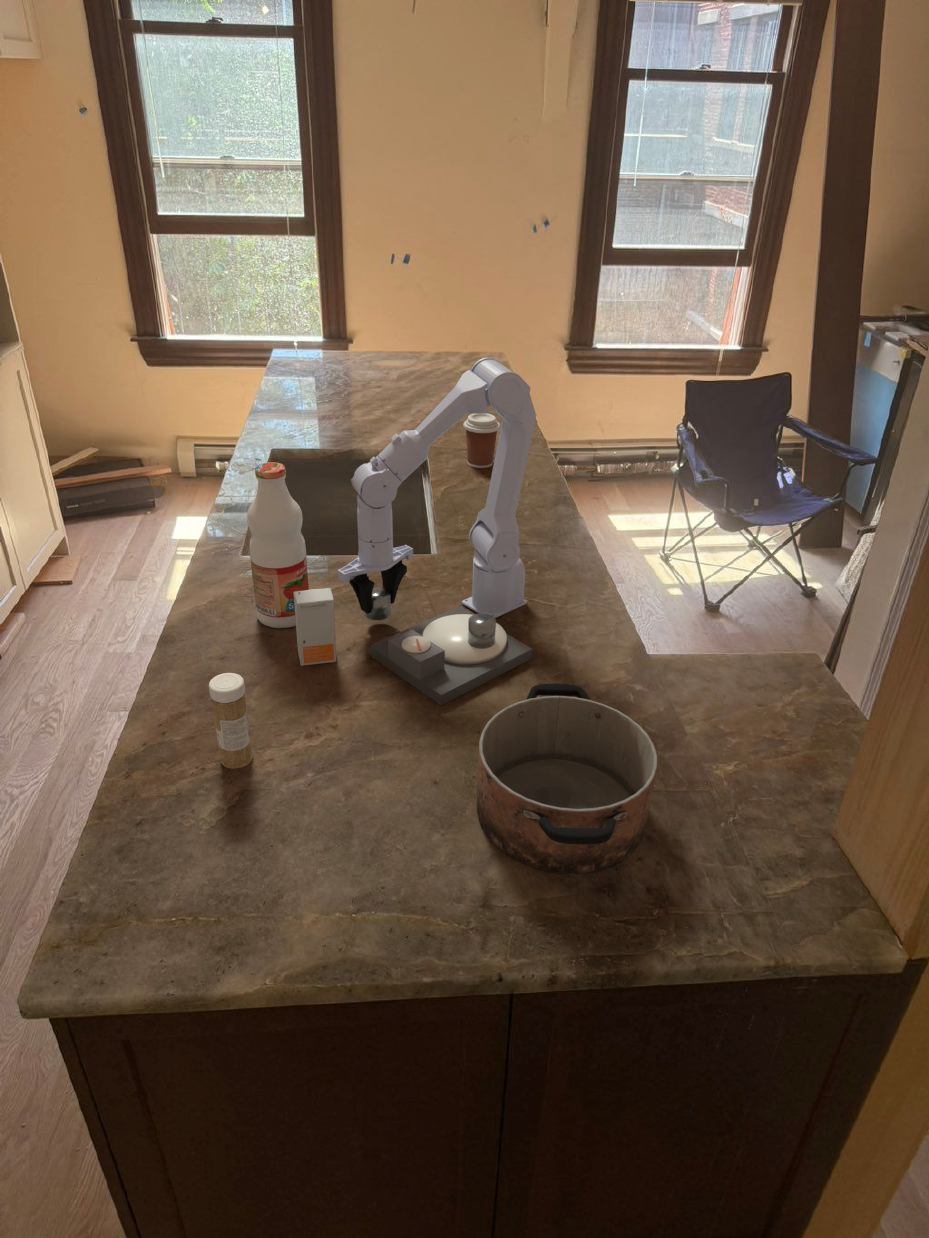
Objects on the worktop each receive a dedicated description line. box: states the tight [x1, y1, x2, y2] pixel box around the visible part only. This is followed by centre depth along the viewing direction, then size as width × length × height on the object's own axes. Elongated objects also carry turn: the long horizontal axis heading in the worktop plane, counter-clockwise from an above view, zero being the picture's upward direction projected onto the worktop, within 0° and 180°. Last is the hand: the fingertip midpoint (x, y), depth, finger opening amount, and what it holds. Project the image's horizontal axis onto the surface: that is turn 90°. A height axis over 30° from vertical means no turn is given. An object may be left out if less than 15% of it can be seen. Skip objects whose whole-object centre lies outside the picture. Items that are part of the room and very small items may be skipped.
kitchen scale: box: [369, 606, 533, 706], centre depth 144 cm, size 20×18×6 cm
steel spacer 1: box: [364, 586, 392, 621], centre depth 152 cm, size 4×4×4 cm
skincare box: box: [293, 587, 337, 667], centre depth 142 cm, size 6×4×12 cm
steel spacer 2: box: [468, 613, 497, 649], centre depth 144 cm, size 4×4×4 cm
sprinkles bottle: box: [208, 672, 254, 769], centre depth 119 cm, size 5×5×13 cm
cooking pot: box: [476, 682, 658, 875], centre depth 113 cm, size 30×22×11 cm
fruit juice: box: [246, 461, 310, 629], centre depth 148 cm, size 9×9×28 cm
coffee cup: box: [462, 413, 501, 469], centre depth 218 cm, size 9×9×12 cm
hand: (377, 606), depth 152 cm, fingers closed on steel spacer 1, 4 cm apart
